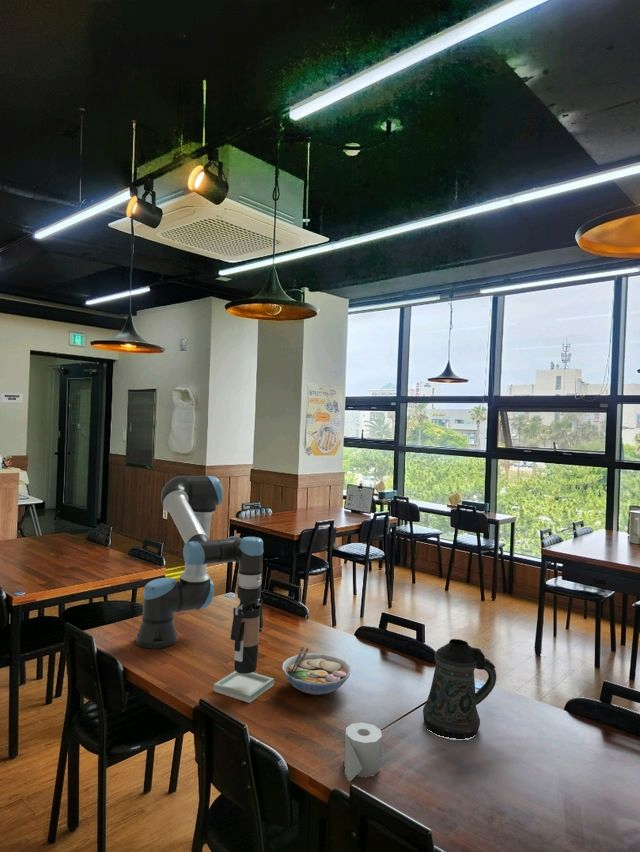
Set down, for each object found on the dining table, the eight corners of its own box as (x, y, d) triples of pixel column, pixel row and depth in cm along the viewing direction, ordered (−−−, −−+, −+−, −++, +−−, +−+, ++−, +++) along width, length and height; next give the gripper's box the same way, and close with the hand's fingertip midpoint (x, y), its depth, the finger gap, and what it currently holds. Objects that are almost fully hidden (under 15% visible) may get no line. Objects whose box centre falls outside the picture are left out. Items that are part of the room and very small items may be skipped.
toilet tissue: (345, 786, 132) (347, 750, 132) (343, 754, 145) (345, 721, 145) (383, 788, 132) (385, 752, 132) (377, 756, 145) (379, 723, 145)
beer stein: (412, 715, 167) (416, 633, 167) (465, 707, 173) (469, 628, 174) (442, 746, 151) (447, 655, 151) (500, 735, 158) (504, 648, 158)
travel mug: (255, 674, 174) (258, 611, 175) (231, 673, 175) (234, 610, 175) (258, 664, 182) (261, 604, 182) (235, 663, 182) (238, 602, 182)
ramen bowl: (343, 714, 165) (345, 686, 166) (271, 702, 170) (272, 676, 170) (355, 678, 190) (356, 654, 190) (291, 669, 195) (292, 645, 195)
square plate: (213, 691, 175) (213, 684, 175) (238, 674, 188) (239, 668, 188) (249, 703, 169) (250, 695, 169) (273, 685, 181) (274, 678, 181)
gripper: (240, 595, 168) (236, 670, 168) (275, 580, 186) (272, 648, 186) (220, 591, 171) (217, 664, 171) (257, 577, 190) (253, 643, 189)
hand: (245, 655), depth 178 cm, fingers closed on travel mug, 8 cm apart
